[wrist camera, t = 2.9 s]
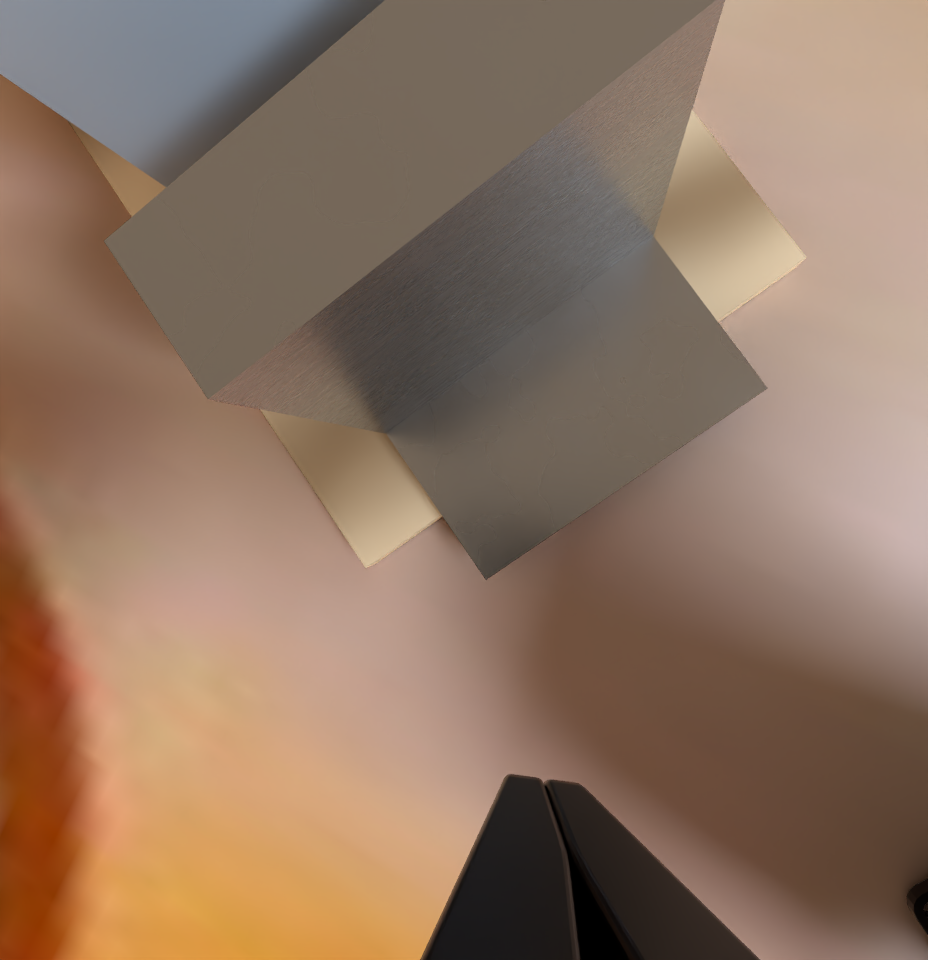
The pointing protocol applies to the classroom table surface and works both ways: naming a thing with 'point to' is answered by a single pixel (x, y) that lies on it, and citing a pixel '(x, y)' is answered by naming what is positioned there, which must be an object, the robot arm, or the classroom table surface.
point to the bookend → (460, 254)
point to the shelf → (680, 231)
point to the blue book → (165, 66)
